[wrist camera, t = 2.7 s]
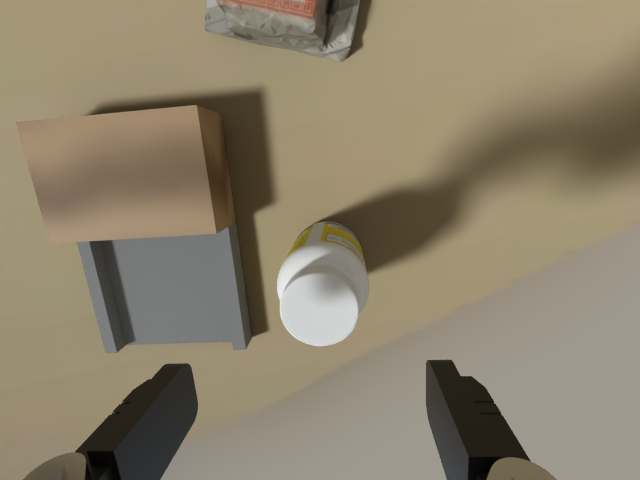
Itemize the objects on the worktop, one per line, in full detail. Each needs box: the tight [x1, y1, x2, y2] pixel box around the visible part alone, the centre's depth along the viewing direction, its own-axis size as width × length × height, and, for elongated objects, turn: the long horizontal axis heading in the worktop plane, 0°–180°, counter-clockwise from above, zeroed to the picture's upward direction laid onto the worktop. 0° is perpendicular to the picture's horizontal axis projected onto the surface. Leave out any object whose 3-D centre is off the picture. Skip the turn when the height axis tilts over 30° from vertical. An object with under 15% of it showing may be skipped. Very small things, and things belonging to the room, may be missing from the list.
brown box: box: [16, 105, 236, 244], centre depth 23 cm, size 8×12×4 cm, turn 94°
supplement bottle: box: [277, 222, 369, 346], centre depth 21 cm, size 5×5×10 cm
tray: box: [77, 223, 252, 353], centre depth 26 cm, size 10×12×2 cm
